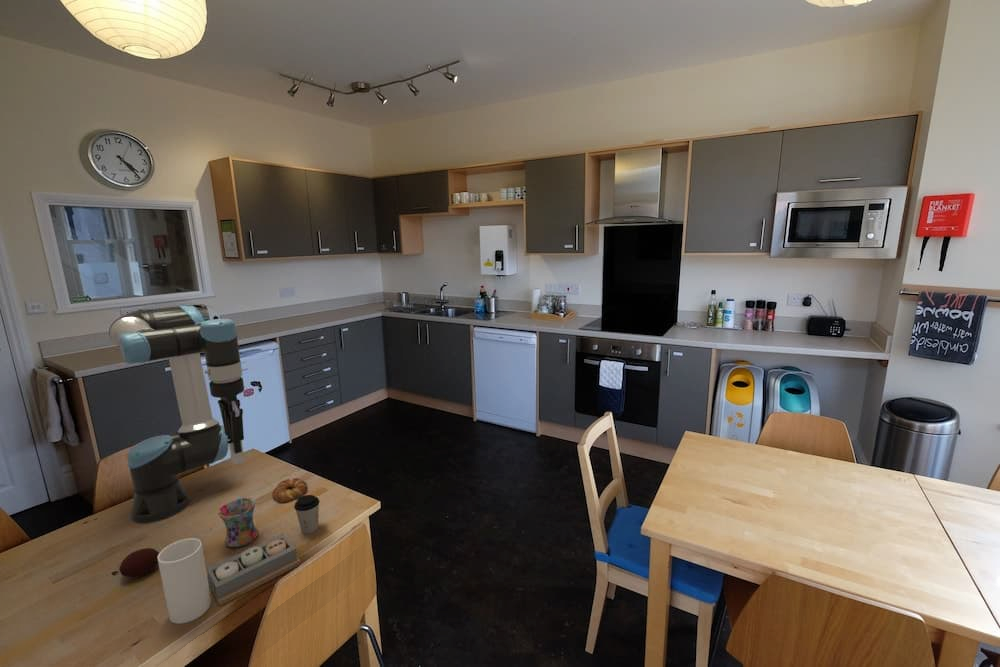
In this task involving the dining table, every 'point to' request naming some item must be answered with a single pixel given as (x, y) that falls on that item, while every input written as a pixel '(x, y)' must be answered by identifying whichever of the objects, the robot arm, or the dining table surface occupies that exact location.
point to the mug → (239, 521)
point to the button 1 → (226, 570)
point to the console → (252, 572)
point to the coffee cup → (307, 513)
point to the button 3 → (275, 547)
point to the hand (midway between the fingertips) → (238, 462)
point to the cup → (184, 580)
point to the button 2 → (251, 556)
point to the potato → (139, 562)
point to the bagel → (289, 490)
